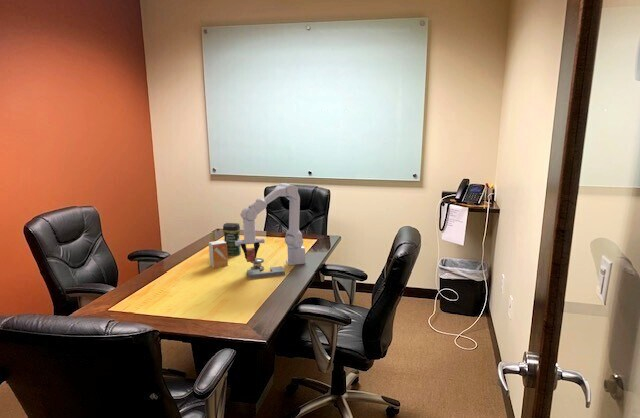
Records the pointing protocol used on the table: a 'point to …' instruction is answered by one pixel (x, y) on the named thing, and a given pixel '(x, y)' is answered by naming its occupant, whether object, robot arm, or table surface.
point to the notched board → (257, 274)
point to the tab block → (250, 254)
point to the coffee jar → (232, 238)
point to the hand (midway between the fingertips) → (250, 257)
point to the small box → (218, 254)
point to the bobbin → (258, 264)
